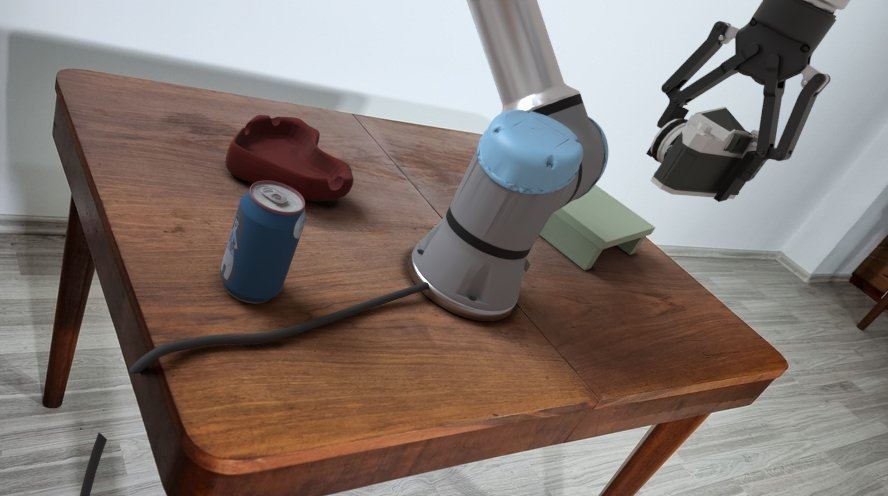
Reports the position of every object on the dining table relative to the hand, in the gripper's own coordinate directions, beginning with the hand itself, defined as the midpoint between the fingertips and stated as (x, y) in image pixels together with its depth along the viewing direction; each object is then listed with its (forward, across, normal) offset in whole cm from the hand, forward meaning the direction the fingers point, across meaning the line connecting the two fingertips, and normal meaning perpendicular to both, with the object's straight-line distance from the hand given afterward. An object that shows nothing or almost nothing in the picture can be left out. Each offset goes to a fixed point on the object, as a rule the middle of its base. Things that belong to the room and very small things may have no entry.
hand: (685, 176), depth 88 cm
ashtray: (+24, +40, +28) cm, 54 cm away
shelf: (+24, +15, -20) cm, 34 cm away
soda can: (+24, +20, +45) cm, 55 cm away
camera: (+1, 0, 0) cm, 1 cm away
